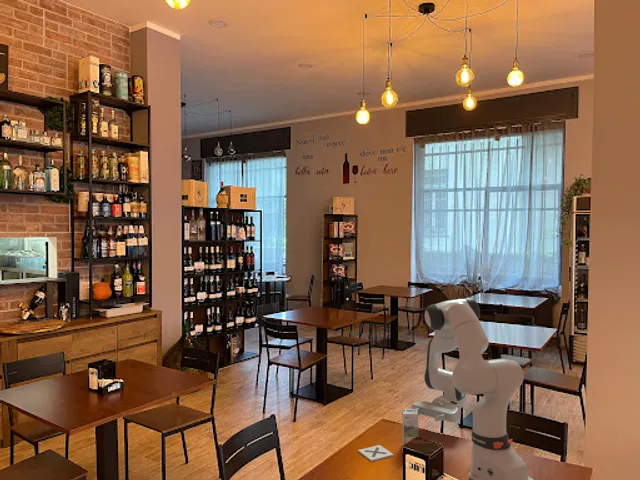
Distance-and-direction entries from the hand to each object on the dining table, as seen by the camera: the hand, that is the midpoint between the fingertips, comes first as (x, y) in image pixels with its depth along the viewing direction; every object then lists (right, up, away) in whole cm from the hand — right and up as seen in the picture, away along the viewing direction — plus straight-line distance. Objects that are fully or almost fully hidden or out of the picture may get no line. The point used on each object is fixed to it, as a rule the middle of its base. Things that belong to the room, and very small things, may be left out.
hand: (425, 416), depth 202 cm
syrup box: (-8, -9, -9) cm, 15 cm away
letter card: (-22, -9, -14) cm, 28 cm away
